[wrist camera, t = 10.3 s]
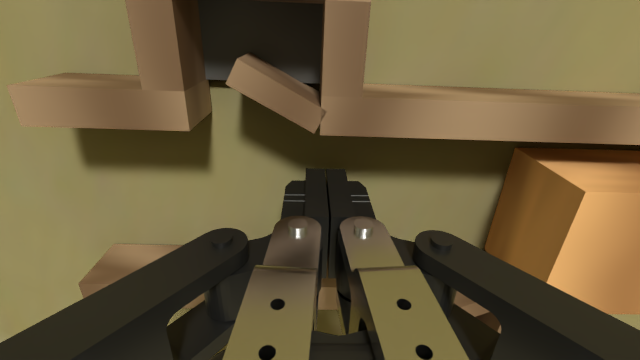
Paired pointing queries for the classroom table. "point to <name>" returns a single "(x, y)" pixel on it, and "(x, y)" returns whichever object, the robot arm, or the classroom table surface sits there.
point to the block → (573, 223)
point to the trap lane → (297, 95)
